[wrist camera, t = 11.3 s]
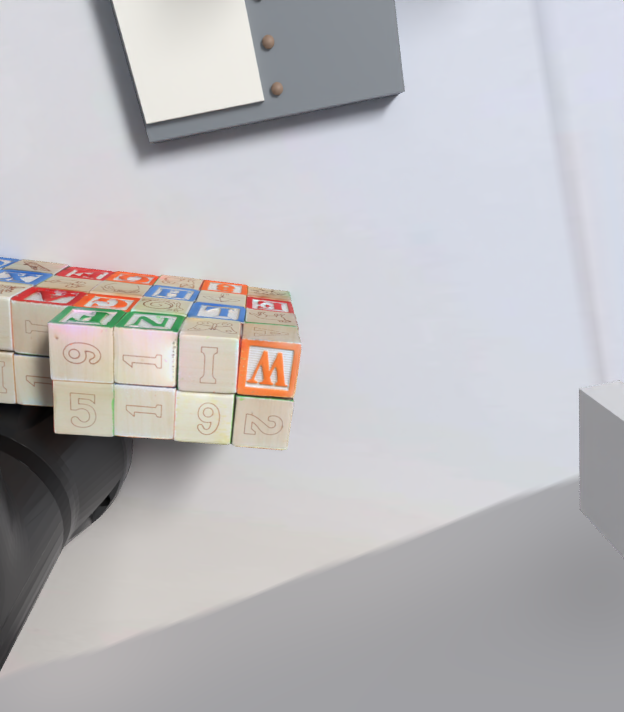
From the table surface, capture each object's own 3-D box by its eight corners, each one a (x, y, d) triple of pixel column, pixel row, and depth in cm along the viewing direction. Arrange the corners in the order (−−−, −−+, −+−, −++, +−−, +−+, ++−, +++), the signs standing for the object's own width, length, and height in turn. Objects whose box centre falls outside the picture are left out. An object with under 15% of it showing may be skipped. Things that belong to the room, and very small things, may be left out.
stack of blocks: (-19, 340, 37) (-145, 421, 26) (-26, 252, 35) (-166, 296, 24) (281, 369, 40) (289, 454, 29) (292, 289, 38) (304, 345, 26)
